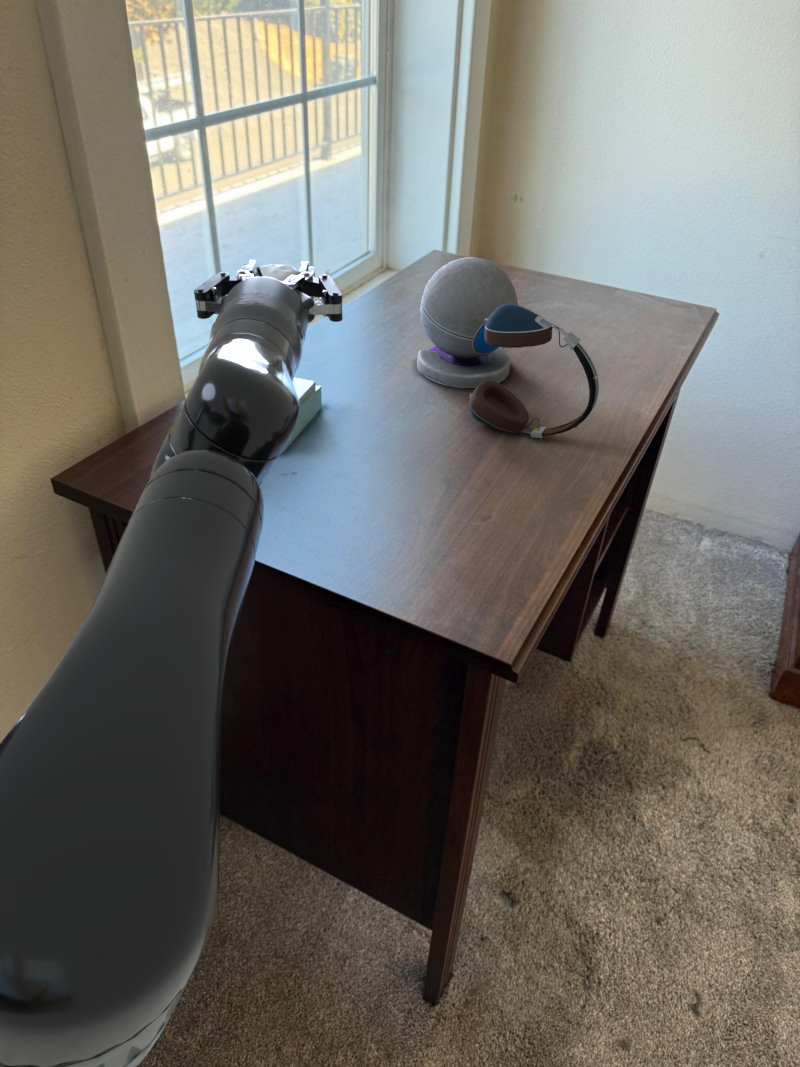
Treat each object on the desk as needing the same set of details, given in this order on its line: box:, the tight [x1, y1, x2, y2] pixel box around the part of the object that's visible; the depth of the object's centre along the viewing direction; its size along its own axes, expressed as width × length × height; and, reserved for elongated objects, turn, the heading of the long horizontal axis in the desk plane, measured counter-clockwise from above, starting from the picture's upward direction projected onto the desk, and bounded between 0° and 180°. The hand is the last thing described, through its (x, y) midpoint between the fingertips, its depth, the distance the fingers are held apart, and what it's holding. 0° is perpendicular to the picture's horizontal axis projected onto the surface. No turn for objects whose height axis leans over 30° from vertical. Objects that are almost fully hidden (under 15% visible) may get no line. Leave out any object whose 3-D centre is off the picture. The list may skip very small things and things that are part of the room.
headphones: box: [420, 304, 600, 439], centre depth 88 cm, size 6×15×22 cm
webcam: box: [416, 256, 519, 389], centre depth 100 cm, size 13×13×15 cm
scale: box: [280, 376, 323, 455], centre depth 90 cm, size 12×12×4 cm
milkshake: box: [255, 263, 299, 282], centre depth 76 cm, size 4×5×10 cm
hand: (280, 270), depth 76 cm, fingers closed on milkshake, 4 cm apart
